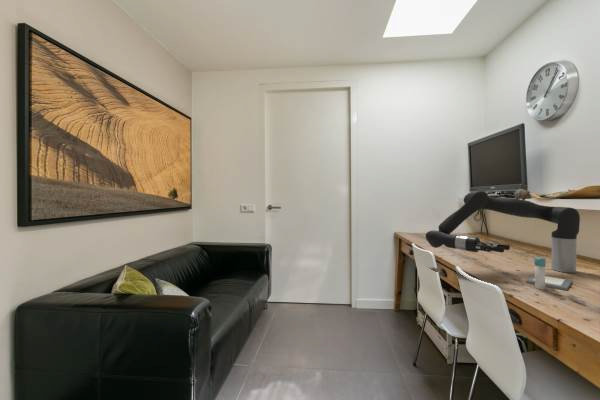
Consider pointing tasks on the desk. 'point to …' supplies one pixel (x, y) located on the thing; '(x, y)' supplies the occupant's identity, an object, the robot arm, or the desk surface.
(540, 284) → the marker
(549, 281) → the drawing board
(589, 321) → the desk surface
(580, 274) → the desk surface
